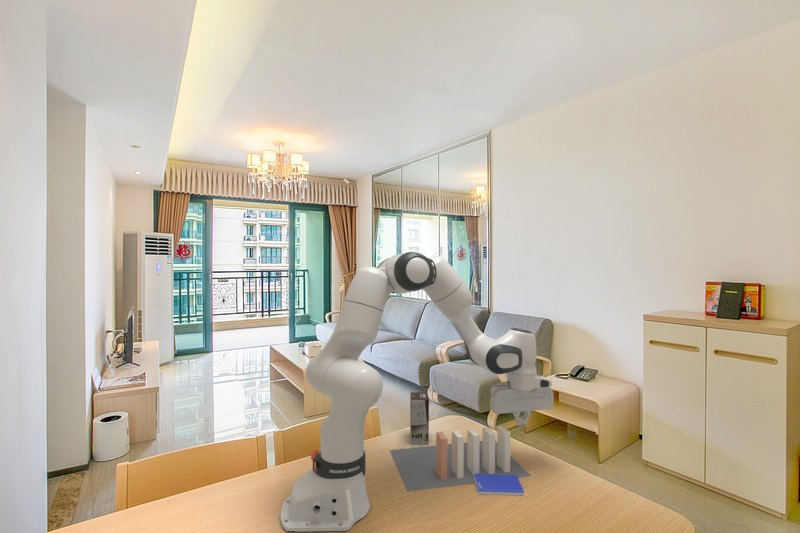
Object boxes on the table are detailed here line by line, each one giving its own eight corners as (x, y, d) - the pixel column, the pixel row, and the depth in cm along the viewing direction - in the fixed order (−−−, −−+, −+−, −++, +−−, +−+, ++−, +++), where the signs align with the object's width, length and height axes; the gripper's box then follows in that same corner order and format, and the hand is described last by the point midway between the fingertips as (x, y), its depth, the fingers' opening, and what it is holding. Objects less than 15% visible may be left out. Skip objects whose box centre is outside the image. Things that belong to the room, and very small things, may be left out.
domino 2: (473, 476, 119) (473, 435, 119) (467, 467, 124) (467, 429, 124) (479, 475, 120) (479, 435, 120) (472, 467, 125) (472, 428, 124)
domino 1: (457, 478, 118) (457, 437, 118) (451, 469, 123) (452, 430, 123) (463, 477, 119) (463, 436, 118) (457, 469, 123) (457, 430, 123)
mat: (407, 492, 111) (407, 491, 111) (389, 451, 136) (389, 450, 136) (531, 477, 120) (531, 476, 120) (494, 440, 144) (494, 439, 144)
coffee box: (429, 446, 140) (429, 399, 139) (410, 446, 140) (410, 399, 139) (427, 435, 149) (427, 391, 148) (410, 434, 149) (410, 391, 149)
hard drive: (478, 489, 110) (524, 491, 109) (473, 472, 118) (516, 474, 118) (477, 495, 110) (523, 496, 110) (473, 477, 118) (516, 479, 118)
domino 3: (489, 474, 120) (489, 434, 120) (482, 466, 125) (482, 427, 125) (494, 473, 121) (495, 433, 121) (487, 465, 126) (487, 427, 125)
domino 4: (504, 472, 121) (504, 432, 121) (497, 464, 126) (497, 426, 126) (510, 471, 122) (510, 432, 122) (502, 463, 127) (502, 425, 127)
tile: (441, 480, 117) (441, 439, 117) (436, 471, 122) (436, 431, 122) (447, 479, 117) (447, 438, 117) (441, 470, 122) (441, 431, 122)
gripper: (495, 386, 120) (495, 432, 120) (556, 381, 124) (556, 425, 125) (486, 380, 126) (486, 423, 126) (544, 375, 131) (544, 417, 131)
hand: (521, 424), depth 126 cm, fingers closed
